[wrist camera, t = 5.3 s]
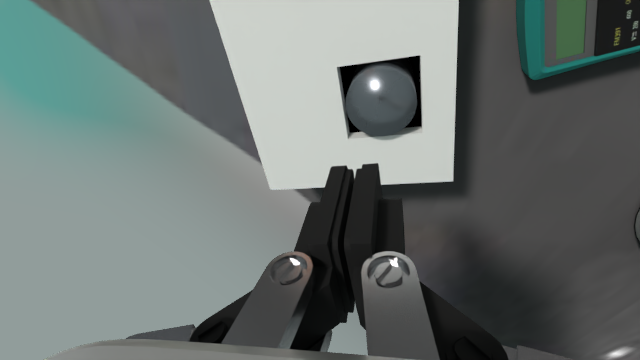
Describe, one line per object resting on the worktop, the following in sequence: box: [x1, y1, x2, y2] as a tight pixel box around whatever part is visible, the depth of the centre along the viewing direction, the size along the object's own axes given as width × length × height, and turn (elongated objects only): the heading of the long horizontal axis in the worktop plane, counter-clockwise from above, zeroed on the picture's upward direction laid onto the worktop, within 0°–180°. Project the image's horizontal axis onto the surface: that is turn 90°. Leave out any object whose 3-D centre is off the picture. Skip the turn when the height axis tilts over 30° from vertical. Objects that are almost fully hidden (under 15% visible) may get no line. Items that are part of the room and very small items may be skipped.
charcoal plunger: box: [346, 57, 417, 136], centre depth 23 cm, size 4×4×6 cm
